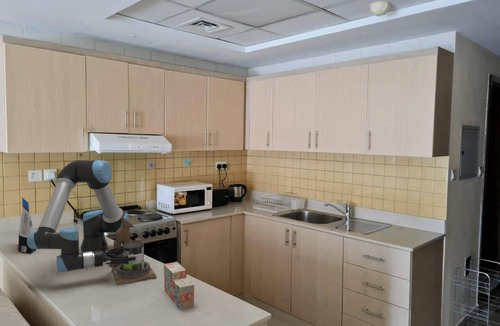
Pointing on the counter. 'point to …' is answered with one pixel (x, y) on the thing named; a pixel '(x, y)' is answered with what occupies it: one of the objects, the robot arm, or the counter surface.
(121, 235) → the wooden toy
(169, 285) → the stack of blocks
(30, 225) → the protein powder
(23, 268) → the counter surface
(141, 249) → the coffee can
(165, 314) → the counter surface
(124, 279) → the jig
